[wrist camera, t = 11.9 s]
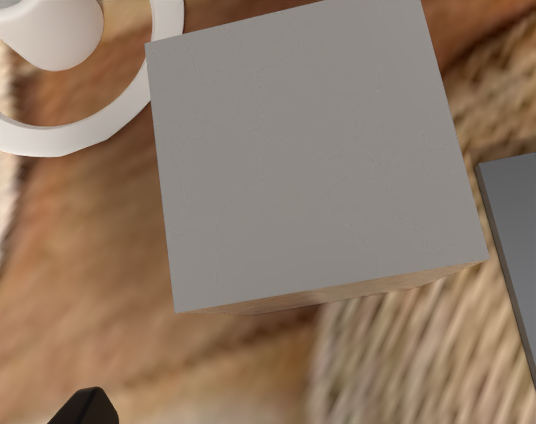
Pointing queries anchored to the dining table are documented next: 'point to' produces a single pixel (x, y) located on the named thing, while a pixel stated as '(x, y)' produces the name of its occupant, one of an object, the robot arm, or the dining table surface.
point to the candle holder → (67, 56)
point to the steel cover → (308, 159)
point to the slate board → (515, 235)
